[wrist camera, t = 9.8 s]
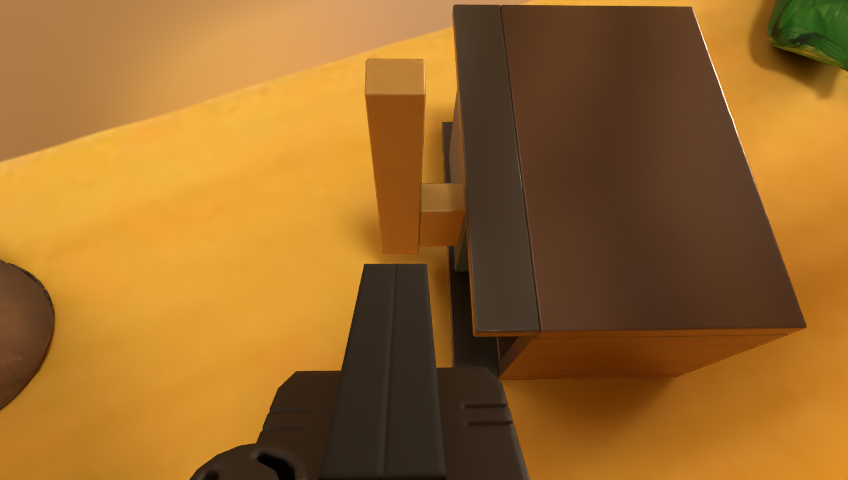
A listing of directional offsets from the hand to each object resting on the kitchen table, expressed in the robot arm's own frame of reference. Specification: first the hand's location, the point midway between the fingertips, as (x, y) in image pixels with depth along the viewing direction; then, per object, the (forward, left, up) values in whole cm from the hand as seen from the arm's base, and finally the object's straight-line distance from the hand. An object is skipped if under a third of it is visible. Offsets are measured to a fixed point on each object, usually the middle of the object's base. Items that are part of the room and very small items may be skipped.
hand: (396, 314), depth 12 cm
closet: (-12, -5, -16) cm, 21 cm away
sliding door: (-5, -10, -15) cm, 19 cm away
